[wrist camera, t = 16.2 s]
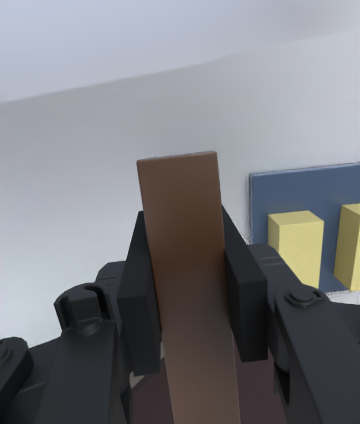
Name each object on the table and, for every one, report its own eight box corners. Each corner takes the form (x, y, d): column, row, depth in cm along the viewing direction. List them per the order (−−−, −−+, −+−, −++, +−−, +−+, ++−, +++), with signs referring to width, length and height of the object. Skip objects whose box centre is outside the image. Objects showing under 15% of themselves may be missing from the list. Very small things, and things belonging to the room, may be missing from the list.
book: (185, 470, 42) (188, 525, 36) (72, 416, 37) (55, 470, 31) (328, 353, 35) (358, 398, 30) (214, 269, 31) (224, 304, 25)
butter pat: (341, 204, 28) (361, 215, 25) (361, 202, 28) (383, 213, 25) (333, 275, 30) (350, 291, 27) (351, 273, 30) (370, 289, 27)
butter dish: (249, 173, 27) (252, 175, 26) (372, 161, 27) (379, 162, 26) (250, 295, 32) (253, 300, 31) (355, 283, 32) (360, 289, 31)
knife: (147, 158, 12) (135, 160, 8) (200, 151, 13) (217, 150, 8) (194, 500, 17) (202, 621, 12) (234, 494, 17) (257, 613, 12)
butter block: (267, 214, 28) (279, 225, 25) (308, 210, 28) (324, 221, 25) (267, 283, 30) (277, 301, 27) (303, 279, 30) (317, 296, 27)
